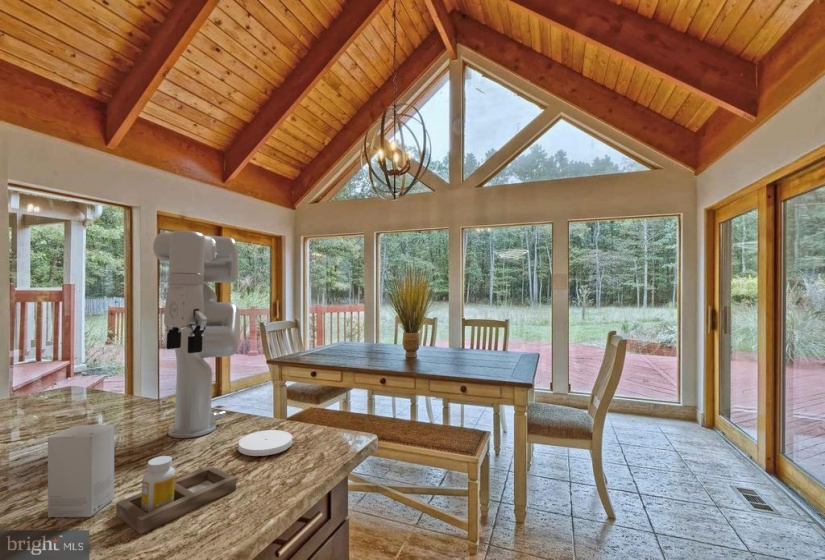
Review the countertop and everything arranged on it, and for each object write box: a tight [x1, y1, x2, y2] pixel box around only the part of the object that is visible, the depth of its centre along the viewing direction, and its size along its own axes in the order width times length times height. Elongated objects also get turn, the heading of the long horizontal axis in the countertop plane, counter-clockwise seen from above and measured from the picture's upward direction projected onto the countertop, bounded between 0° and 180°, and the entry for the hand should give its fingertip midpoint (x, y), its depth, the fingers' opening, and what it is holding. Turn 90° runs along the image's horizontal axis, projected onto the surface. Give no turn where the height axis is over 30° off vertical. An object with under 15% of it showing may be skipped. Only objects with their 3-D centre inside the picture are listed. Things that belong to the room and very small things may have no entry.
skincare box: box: [47, 424, 115, 518], centre depth 75 cm, size 8×7×16 cm
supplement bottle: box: [141, 455, 176, 513], centre depth 75 cm, size 5×5×10 cm
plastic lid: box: [237, 429, 293, 457], centre depth 105 cm, size 14×14×2 cm
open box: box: [115, 465, 237, 535], centre depth 78 cm, size 18×10×2 cm, turn 148°
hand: (183, 350), depth 94 cm, fingers open, 9 cm apart
